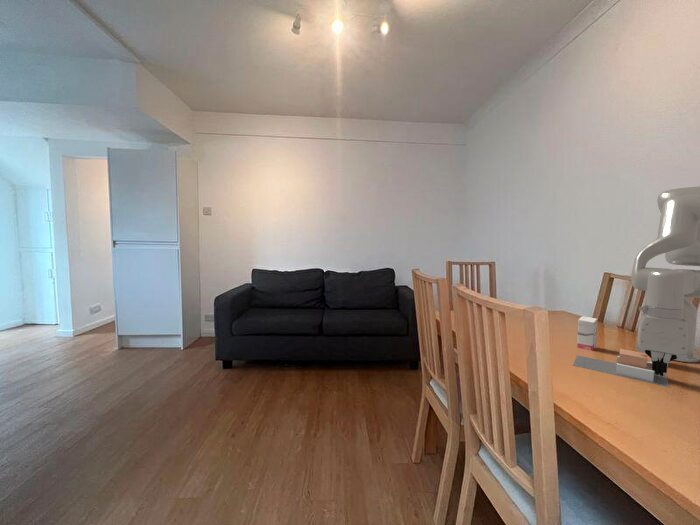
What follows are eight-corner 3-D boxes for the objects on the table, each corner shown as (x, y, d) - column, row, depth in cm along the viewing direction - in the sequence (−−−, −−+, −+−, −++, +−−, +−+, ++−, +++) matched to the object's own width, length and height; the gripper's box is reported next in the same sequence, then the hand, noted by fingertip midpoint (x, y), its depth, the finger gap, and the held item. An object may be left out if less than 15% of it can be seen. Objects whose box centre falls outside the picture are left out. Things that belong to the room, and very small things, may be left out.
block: (618, 366, 97) (619, 348, 96) (644, 372, 93) (646, 353, 92) (618, 372, 93) (619, 353, 92) (645, 378, 89) (647, 358, 88)
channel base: (576, 357, 107) (577, 346, 107) (665, 376, 92) (666, 363, 92) (572, 368, 98) (573, 356, 98) (669, 390, 83) (670, 376, 83)
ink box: (592, 353, 111) (594, 322, 111) (576, 349, 115) (577, 319, 114) (596, 347, 117) (598, 318, 116) (580, 344, 121) (582, 315, 120)
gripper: (628, 311, 90) (624, 370, 91) (705, 319, 80) (699, 386, 81) (628, 307, 95) (624, 363, 97) (699, 314, 85) (694, 377, 87)
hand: (658, 373), depth 89 cm, fingers closed
